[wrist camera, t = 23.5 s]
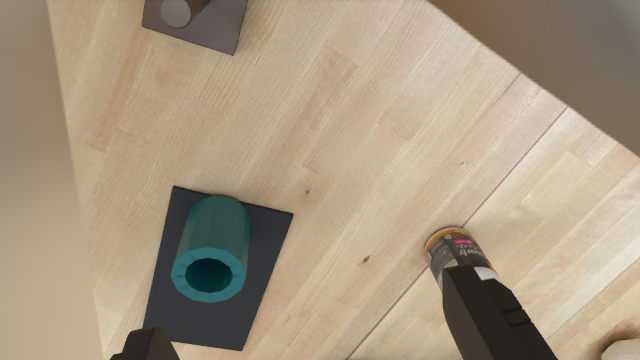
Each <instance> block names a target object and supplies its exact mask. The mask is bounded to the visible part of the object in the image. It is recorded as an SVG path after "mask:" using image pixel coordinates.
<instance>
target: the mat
mask: <svg viewBox="0 0 640 360" xmlns="http://www.w3.org/2000/svg"><path fill="white" fill-rule="evenodd" d="M211 196H214V195H210V194H205V193H201V192H197V191H193V190H188V189H184V188H180V187H175V186H173V189H172V193H171V198H170V203H169V207H168V212H167V217H166V221H165V226H164V231H163V235H162V240H161V245H160V249H159V254H158V259H157V263H156V268H155V272H154V277H153V282H152V286H151V291H150V296H149V300H148V305H147V310H146V314H145V319H144V324H143V328H148V327H153V326H158V325H160V326H161V327H162V328H163V329H164V331H165V333H166V335H167V336H168V338H169V340H170V341H172V342H179V343H187V344H194V345H201V346H208V347H215V348H222V349H229V350H236V351H242V350H243V347H244V345H245V342H246V339H247V337H248V334H249V331H250V329H251V326H252V324H253V321H254V318H255V316H256V313H257V310H258V308H259V305H260V303H261V300H262V297H263V295H264V292H265V289H266V287H267V284H268V282H269V279H270V276H271V274H272V271H273V268H274V266H275V263H276V261H277V258H278V255H279V253H280V250H281V247H282V245H283V242H284V240H285V237H286V234H287V232H288V229H289V226H290V224H291V221H292V219H293V214H292V213H287V212H283V211H279V210H275V209H270V208H266V207H262V206H257V205H253V204H249V203H244V202H240V201H237V202H239V203H240V204H241V205H242V206H243V207H245V208H246V210H247V213H248V216H249V219H250V231H249V246H248V260H247V274H246V279H245V281H244V284H243V287H242V289H241V290H240V291H239V292H238V293H236V294H235V295H234V296H232V297H231V298H230V299H226V300H222V301H217V302H212V303H208V302H203V301H197V300H193V299H190V298H189V297H187V296H186V295H184V294H182V293H181V292H179V291H178V290H177V288H176V286H175V284H174V282H173V280H172V278H171V273H172V269H173V265H174V261H175V257H176V254H177V251H178V247H179V244H180V241H181V237H182V234H183V230H184V227H185V224H186V220H187V217H188V214H189V210H190V208H191V207H192V206H193V205H195V204H196V203H197V202H198V201H199V200H200V199H202V198H206V197H211ZM143 328H142V329H143Z"/></svg>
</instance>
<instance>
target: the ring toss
mask: <svg viewBox="0 0 640 360" xmlns="http://www.w3.org/2000/svg"><path fill="white" fill-rule="evenodd" d="M247 2H248V0H145V6H144V13H143V20H142V27H144V28H147V29H150V30H153V31H157V32H160V33H163V34H166V35H169V36H172V37H175V38H179V39H182V40H185V41H188V42H191V43H194V44H197V45H201V46H204V47H207V48H210V49H213V50H216V51H219V52H223V53H226V54H229V55H232V56H234V53H235V50H236V46H237V42H238V38H239V34H240V30H241V26H242V22H243V18H244V14H245V10H246V6H247Z"/></svg>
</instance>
